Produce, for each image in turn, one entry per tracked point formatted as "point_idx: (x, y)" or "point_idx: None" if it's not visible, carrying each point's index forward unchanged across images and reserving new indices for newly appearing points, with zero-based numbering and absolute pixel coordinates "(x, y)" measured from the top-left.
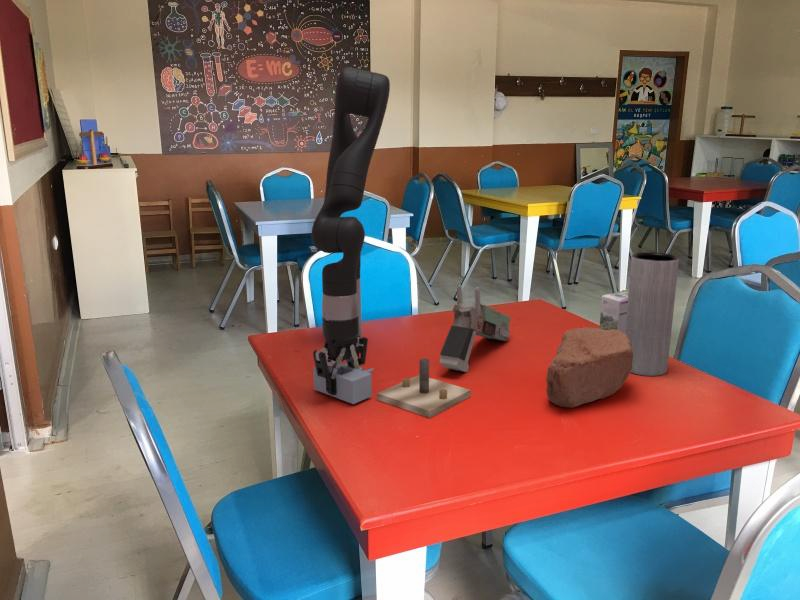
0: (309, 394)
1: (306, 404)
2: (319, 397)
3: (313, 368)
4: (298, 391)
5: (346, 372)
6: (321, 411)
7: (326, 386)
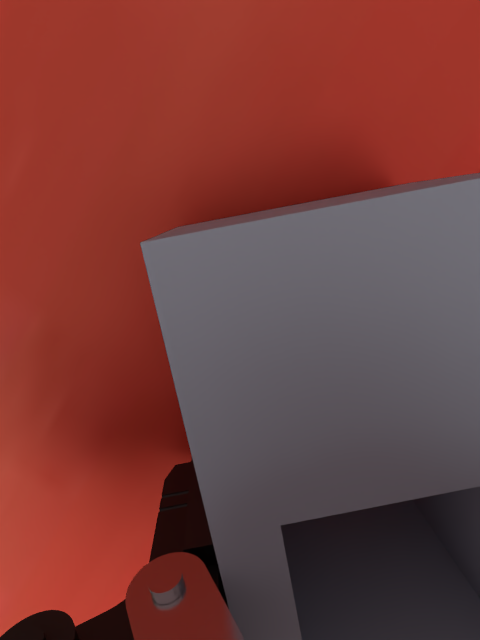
0: (124, 242)
1: (13, 400)
2: (162, 347)
3: (147, 247)
4: (72, 112)
5: (478, 505)
6: (54, 552)
7: (163, 509)
